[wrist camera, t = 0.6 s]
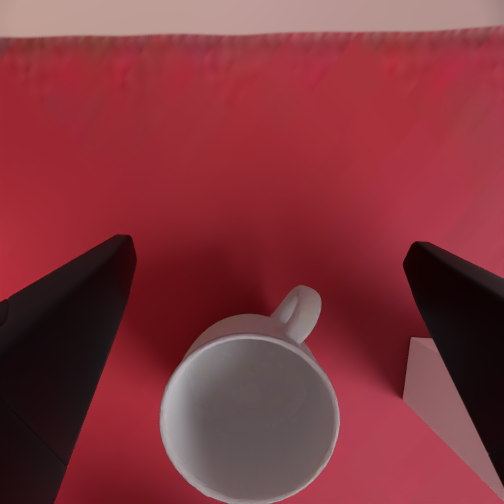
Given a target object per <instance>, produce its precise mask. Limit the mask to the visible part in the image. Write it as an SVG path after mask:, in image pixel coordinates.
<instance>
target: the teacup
mask: <svg viewBox="0 0 504 504" xmlns="http://www.w3.org/2000/svg"><path fill="white" fill-rule="evenodd" d="M320 311H321V298H320V295H319V294H318V293H317V291H315V290H314V289H312V288H310V287H307V286H303V285H300V286H297V287H295V288H294V289H292V290H291V291H290V292H289V294H288V295H287V296H286V297H285V298H284V300H283V301H282V302H281V304H280V305H279V307H278V308H277V309H276V311H274V312H273V313H272V314H271V316H269V317H268V316H264V315H258V314H240V315H234V316H230V317H227V318H225V319H222V320H220V321H218V322H217V323H215V324H213V325H212V326H210V327H209V328H208V329H206V330H205V331H204V332H203V333H202V334H201V335H200V336H199V337H198V338H197V339H196V340H195V342H194V343H193V344H192V346H191V347H190V349H189V350H188V351H187V353H186V354H185V356H184V358H183V360H182V361H181V363H180V364H179V365H178V366H177V368H176V369H175V371H174V372H173V374H172V375H171V377H170V379H169V380H168V383H167V385H166V387H165V390H164V393H163V397H162V401H161V405H160V419H159V425H160V433H161V437H162V441H163V444H164V447H165V450H166V453H167V455H168V457H169V458H170V460H171V462H172V463H173V465H174V466H175V468H176V469H177V470H178V471H179V473H180V474H181V475H182V476H183V477H184V478H185V479H186V480H187V482H188V483H190V484H191V485H192V486H194V487H195V488H196V489H198V490H199V491H200V492H201V493H203V494H204V495H206V496H207V497H212V498H214V499H217V500H219V501H222V502H226V503H228V504H271V503H274V502H277V501H281V500H283V499H285V498H287V497H290V496H292V495H294V494H296V493H297V492H298V491H300V490H302V489H304V488H305V487H306V486H307V485H308V484H310V483H311V482H312V481H313V480H314V479H315V478H316V477H317V476H318V475H319V474H320V472H321V471H322V470H323V469H324V467H325V466H326V464H327V463H328V461H329V459H330V456H331V455H332V453H333V448H334V446H335V443H336V440H337V438H338V432H339V423H340V415H339V408H338V401H337V397H336V394H335V391H334V389H333V386H332V384H331V382H330V380H329V378H328V376H327V375H326V373H325V372H324V370H323V369H322V368H321V367H320V365H319V364H318V362H317V361H316V359H315V357H314V356H313V354H312V352H311V351H310V349H309V348H308V346H307V345H306V343H305V342H304V341H303V340H304V339H305V338H306V337H307V336H308V335H309V334H310V332H311V331H312V329H313V328H314V326H315V324H316V322H317V320H318V317H319V314H320Z"/></svg>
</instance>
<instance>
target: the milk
mask: <svg viewBox="0 0 504 504" xmlns="http://www.w3.org/2000/svg"><path fill="white" fill-rule="evenodd" d="M403 401H404V402H405V403H406V404H407V405H408V406H409V407H410V408H411V409H412V410H413V411H414V412H415V413H416V414H417V415H418V416H419V417H420V418H421V419H422V420H423V421H424V422H425V423H426V424H427V425H428V426H429V427H430V428H431V429H432V430H433V431H434V432H435V433H436V434H437V435H438V436H439V437H440V438H441V439H442V440H443V441H444V442H445V443H446V444H447V445H448V446H449V447H450V448H451V449H452V450H453V451H454V452H455V453H456V454H457V455H458V456H459V457H460V458H461V459H462V460H463V461H464V462H465V463H466V464H467V465H468V466H469V467H470V468H471V469H472V470H473V471H474V472H475V473H476V474H477V475H478V476H479V477H480V478H481V479H482V480H483V481H484V482H485V483H486V484H487V485H488V486H489V487H490V488H491V489H492V490H493V491H494V492H495V493H496V494H497V495H498V496H499V497H500V498H501V499H502V500H503V501H504V487H503V485H502V483H501V481H500V479H499V477H498V475H497V473H496V471H495V469H494V467H493V465H492V462H491V460H490V458H489V456H488V454H489V453H487V452H486V449H485V447H484V445H483V443H482V441H481V439H480V437H479V435H478V433H477V431H476V429H475V427H474V424H473V422H472V420H471V418H470V416H469V414H468V412H467V410H466V408H465V406H464V404H463V402H462V399H461V397H460V395H459V393H458V391H457V389H456V387H455V385H454V383H453V381H452V379H451V377H450V375H449V372H448V370H447V368H446V366H445V364H444V362H443V360H442V358H441V356H440V354H439V352H438V350H437V347H436V345H435V343H434V341H433V339H432V338H417V337H411V339H410V347H409V355H408V362H407V370H406V378H405V385H404V393H403Z"/></svg>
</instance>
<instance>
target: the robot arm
mask: <svg viewBox="0 0 504 504" xmlns="http://www.w3.org/2000/svg"><path fill="white" fill-rule="evenodd" d="M136 263H137V257H136V252H135V248H134V244H133V240H132V237H131V236H130V235H115V236H113V237H111V238H109V239H108V240H106V241H104V242H103V243H101V244H99V245H98V246H96V247H94V248H92V249H91V250H89V251H87V252H86V253H84V254H82V255H80V256H79V257H77V258H75V259H74V260H72V261H70V262H68V263H67V264H65V265H63V266H62V267H60V268H58V269H56V270H55V271H53V272H51V273H50V274H48V275H46V276H44V277H43V278H41V279H39V280H38V281H36V282H34V283H32V284H31V285H29V286H27V287H26V288H24V289H22V290H20V291H19V292H17V293H15V294H14V295H12V296H10V297H9V298H8V299H5V300H3V301H1V302H0V504H54V502H55V499H56V496H57V494H58V491H59V488H60V485H61V483H62V480H63V477H64V475H65V472H66V469H67V467H66V466H67V465H68V463H69V460H70V458H71V455H72V452H73V450H74V447H75V444H76V441H77V439H78V436H79V433H80V431H81V428H82V425H83V422H84V420H85V417H86V414H87V412H88V409H89V406H90V404H91V401H92V398H93V395H94V393H95V390H96V387H97V385H98V382H99V379H100V376H101V374H102V371H103V368H104V366H105V363H106V360H107V357H108V355H109V352H110V349H111V347H112V344H113V341H114V339H115V336H116V333H117V330H118V328H119V325H120V322H121V320H122V317H123V314H124V311H125V308H126V305H127V302H128V298H129V294H130V289H131V285H132V280H133V276H134V272H135V267H136ZM403 268H404V271H405V274H406V277H407V280H408V283H409V285H410V288H411V291H412V294H413V297H414V300H415V302H416V305H417V307H418V310H419V312H420V314H421V316H422V318H423V320H424V322H425V325H426V327H427V329H428V331H429V333H430V335H431V337H432V339H433V341H434V343H435V345H436V347H437V350H438V352H439V354H440V356H441V358H442V360H443V362H444V364H445V366H446V368H447V370H448V372H449V375H450V377H451V379H452V381H453V383H454V385H455V387H456V389H457V391H458V393H459V395H460V397H461V399H462V402H463V404H464V406H465V408H466V410H467V412H468V414H469V416H470V418H471V420H472V422H473V424H474V427H475V429H476V431H477V433H478V435H479V437H480V439H481V441H482V443H483V445H484V447H485V449H486V452H487V453H489V454H488V456H489V458H490V460H491V462H492V465H493V467H494V469H495V471H496V473H497V475H498V477H499V479H500V481H501V483H502V485H503V487H504V279H503V278H501V277H499V276H497V275H495V274H493V273H491V272H489V271H487V270H485V269H483V268H481V267H479V266H477V265H475V264H473V263H470V262H468V261H466V260H464V259H462V258H460V257H458V256H456V255H454V254H452V253H450V252H448V251H446V250H444V249H442V248H440V247H438V246H436V245H434V244H431V243H429V242H420V241H416V242H414V243H413V244H412V245H411V247H410V249H409V251H408V253H407V255H406V257H405V259H404V262H403Z"/></svg>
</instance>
